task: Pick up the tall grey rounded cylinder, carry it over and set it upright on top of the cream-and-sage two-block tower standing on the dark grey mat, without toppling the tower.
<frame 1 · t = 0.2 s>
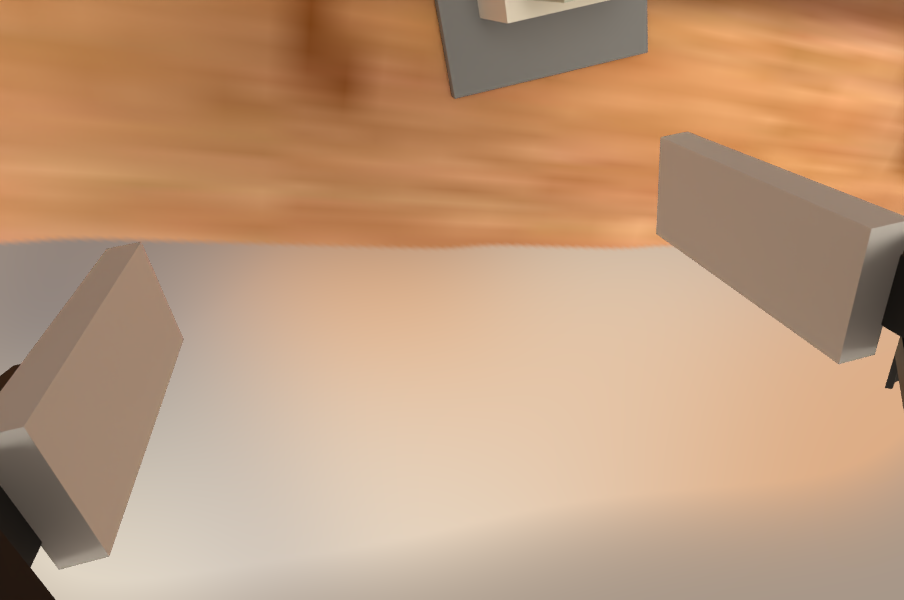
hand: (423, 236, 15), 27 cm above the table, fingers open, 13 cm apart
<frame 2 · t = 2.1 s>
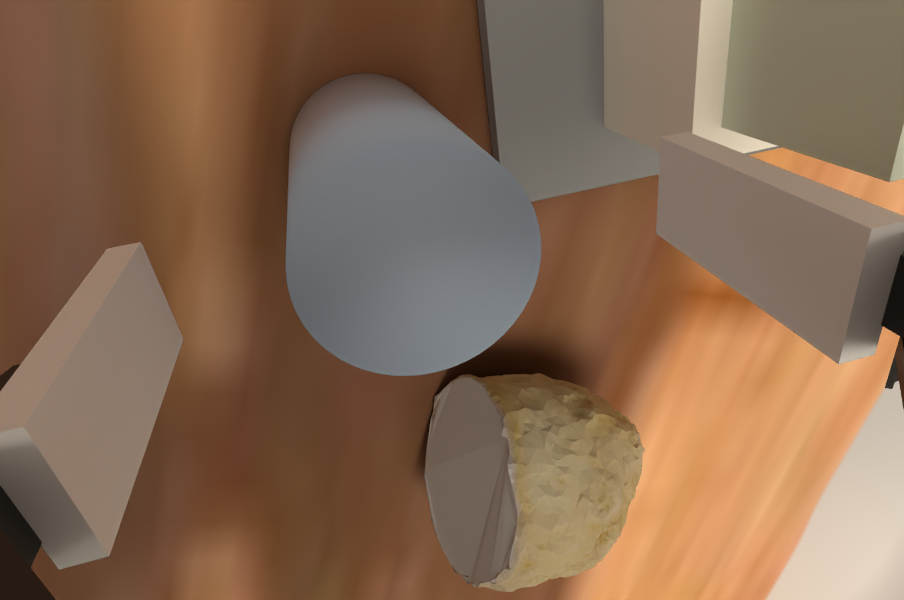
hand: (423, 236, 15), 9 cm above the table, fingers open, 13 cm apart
grey rounded cylinder: (368, 154, 23), on the table
beige rounded lump: (499, 415, 31), on the table
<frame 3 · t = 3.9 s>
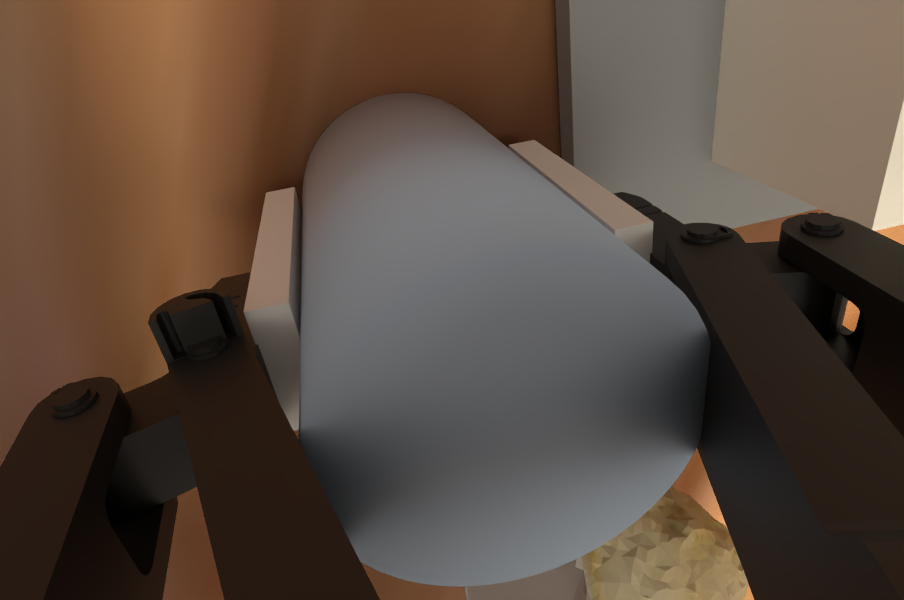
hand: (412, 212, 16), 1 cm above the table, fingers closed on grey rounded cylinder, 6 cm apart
grey rounded cylinder: (405, 196, 18), on the table, touching gripper
beige rounded lump: (551, 498, 26), on the table
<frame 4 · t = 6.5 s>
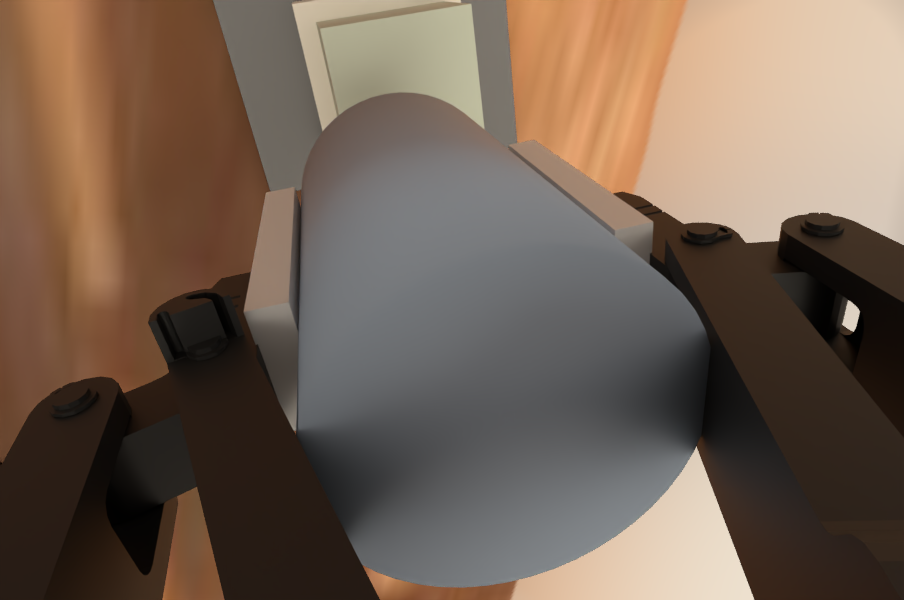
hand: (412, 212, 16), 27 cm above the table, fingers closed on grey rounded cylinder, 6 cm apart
mat: (377, 65, 39), on the table
grey rounded cylinder: (404, 196, 18), point 25 cm above the table, touching gripper
tower top: (392, 79, 33), point 7 cm above the table, touching tower base
tower base: (379, 67, 39), point 1 cm above the table, touching mat, tower top
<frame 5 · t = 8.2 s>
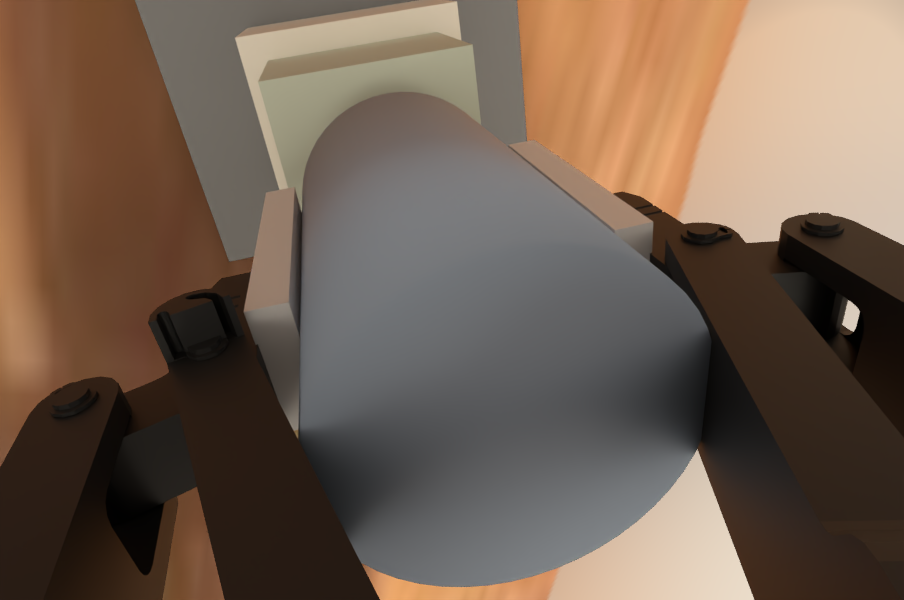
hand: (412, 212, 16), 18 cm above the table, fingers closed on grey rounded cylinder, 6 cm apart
mat: (358, 103, 32), on the table
grey rounded cylinder: (405, 196, 18), point 16 cm above the table, touching gripper
tower top: (371, 131, 26), point 7 cm above the table, touching tower base
tower base: (359, 106, 31), point 1 cm above the table, touching mat, tower top
when the fingers open (16 cm above the table, at t = 9.3 s): grey rounded cylinder stays where it is, resting on tower top.
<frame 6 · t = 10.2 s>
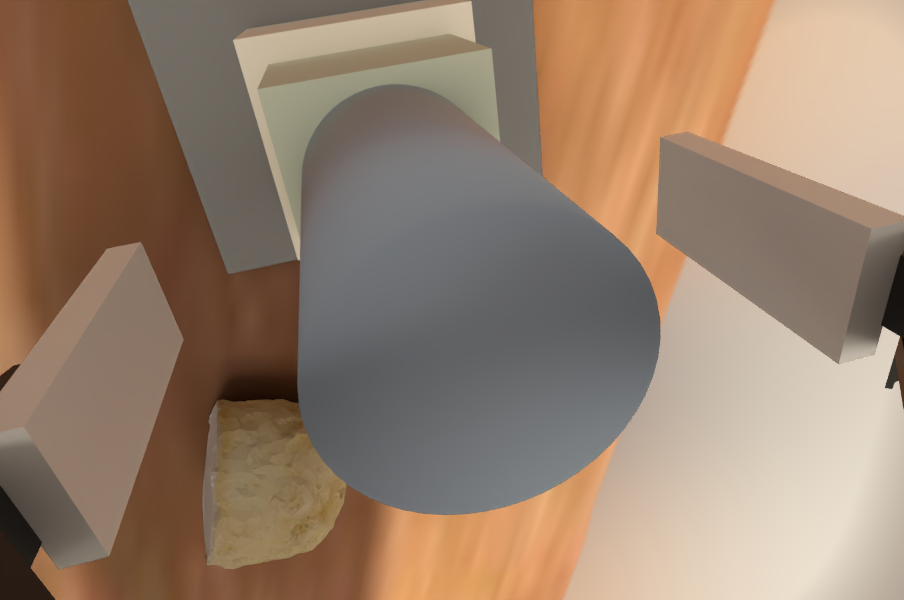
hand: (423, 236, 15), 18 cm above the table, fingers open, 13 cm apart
mat: (364, 108, 30), on the table
grey rounded cylinder: (397, 182, 19), point 13 cm above the table, touching tower top
beige rounded lump: (273, 429, 39), on the table
tower top: (378, 139, 24), point 7 cm above the table, touching grey rounded cylinder, tower base
tower base: (365, 112, 29), point 1 cm above the table, touching mat, tower top
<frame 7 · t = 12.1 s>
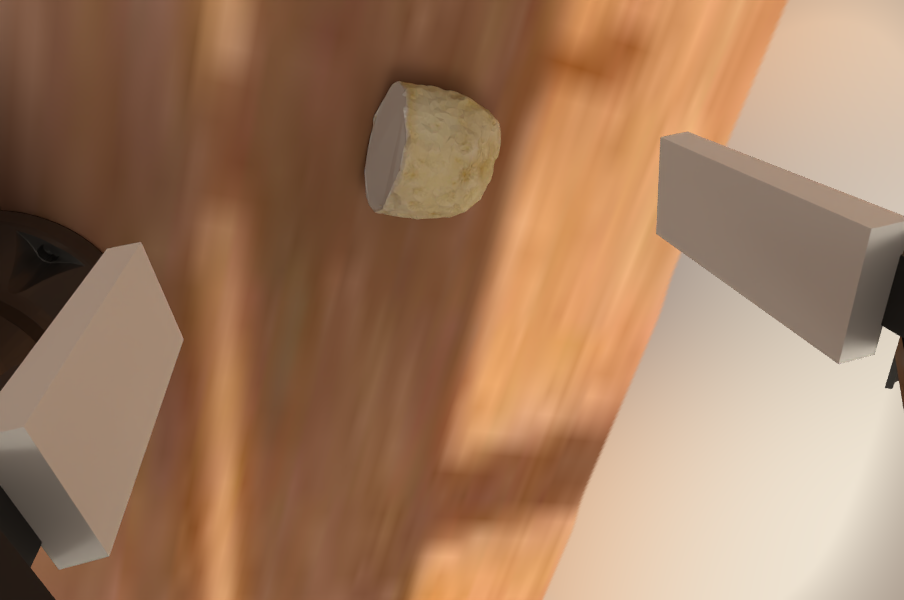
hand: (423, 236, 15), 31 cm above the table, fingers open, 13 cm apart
beige rounded lump: (420, 143, 45), on the table
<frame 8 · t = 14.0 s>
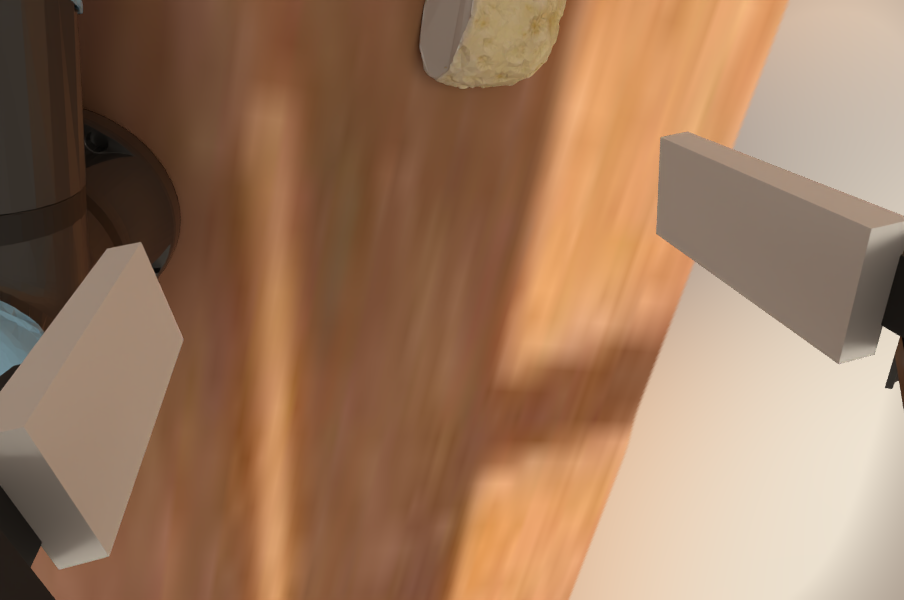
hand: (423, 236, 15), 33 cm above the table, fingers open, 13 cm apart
beige rounded lump: (473, 18, 43), on the table
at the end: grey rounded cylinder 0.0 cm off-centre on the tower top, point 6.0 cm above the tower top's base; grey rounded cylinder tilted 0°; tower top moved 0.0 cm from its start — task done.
